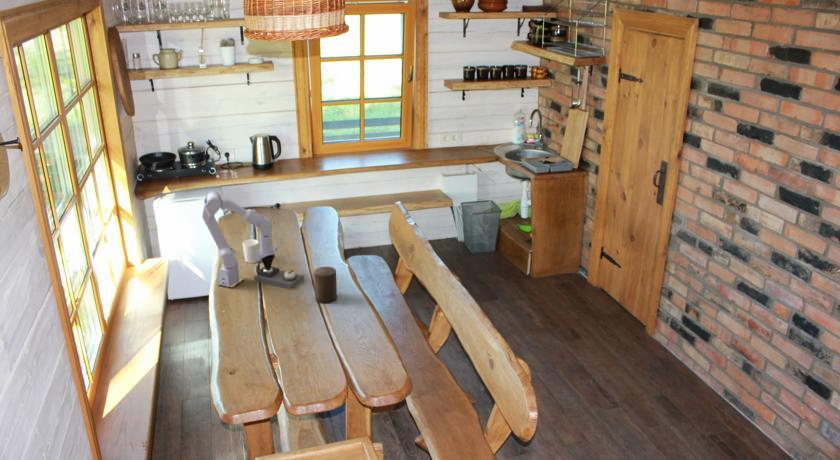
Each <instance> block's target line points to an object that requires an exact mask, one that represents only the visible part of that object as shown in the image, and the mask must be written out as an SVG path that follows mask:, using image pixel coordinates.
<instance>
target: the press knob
mask: <svg viewBox="0 0 840 460" xmlns="http://www.w3.org/2000/svg"><path fill="white" fill-rule="evenodd" d="M272 271H273V268H271V269H270V270H266V269H265V268H264V269H263V272H267V273H271V272H272Z"/></svg>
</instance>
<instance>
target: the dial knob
mask: <svg viewBox="0 0 840 460" xmlns="http://www.w3.org/2000/svg"><path fill="white" fill-rule="evenodd" d="M295 274H296V272H295V271H294V269H293V270H287V271H286V272H285V273H284V278H285V279H293V278H295Z"/></svg>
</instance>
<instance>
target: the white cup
mask: <svg viewBox="0 0 840 460" xmlns="http://www.w3.org/2000/svg"><path fill="white" fill-rule="evenodd" d="M242 250H243V256H244V261H246V262H249V263H248V264H256V263H258V262H259V261H256V256H257V255H258V254H259V253H260V240H257V239H252V238H251V239H245V240H244V241H242ZM246 262H245V263H246Z"/></svg>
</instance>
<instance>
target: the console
mask: <svg viewBox="0 0 840 460" xmlns="http://www.w3.org/2000/svg"><path fill="white" fill-rule="evenodd" d="M264 268H265V266H264V265H263V267H262V268H260V269H258V270H257V271H256V272H257V273H256V275H255V276H254V282H256V283H261V284H265V285H269V286H274V287H278V288H282V289H287V290H292V289H294V288H295V287H296V286H298V285H300V284H301V283H302V282H303V281H304V280H305V275H304V274H298V273H295V278H293V279H285V278H284V273H285V272H286V271H285V270H281V269H280V268H279V267H275V266H271V268H273V271H272V272H271V273H267V272H263V269H264Z"/></svg>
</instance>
